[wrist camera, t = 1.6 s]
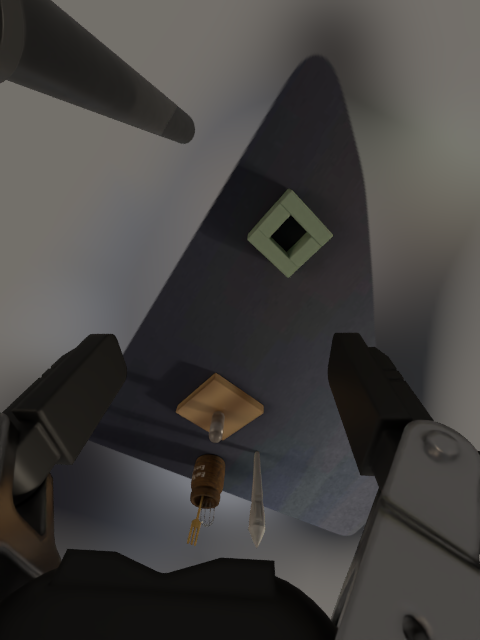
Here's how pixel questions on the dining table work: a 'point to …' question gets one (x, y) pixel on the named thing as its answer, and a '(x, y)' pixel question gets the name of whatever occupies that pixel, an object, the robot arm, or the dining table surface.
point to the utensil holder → (206, 487)
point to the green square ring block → (303, 247)
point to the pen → (257, 505)
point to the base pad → (219, 408)
